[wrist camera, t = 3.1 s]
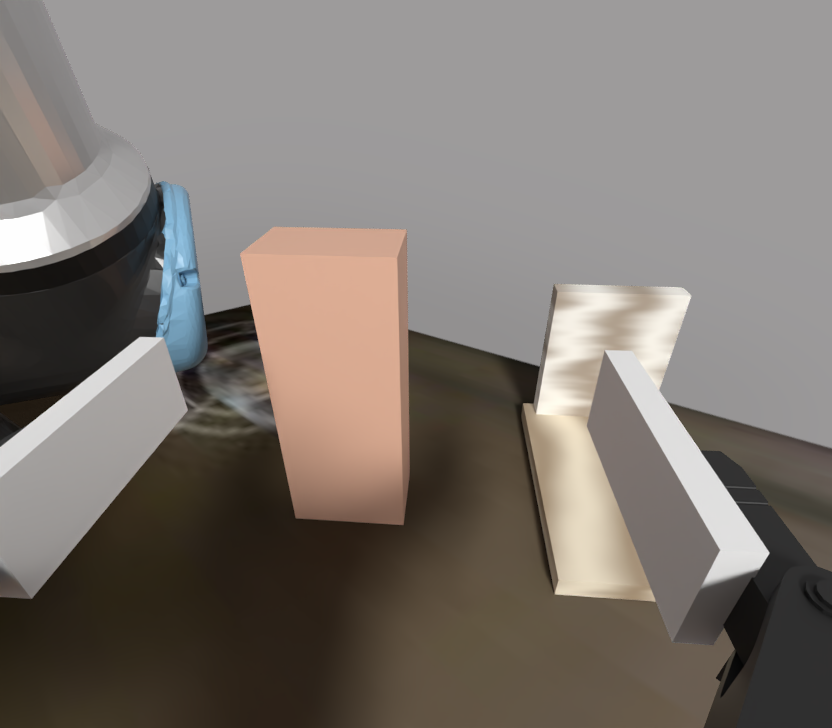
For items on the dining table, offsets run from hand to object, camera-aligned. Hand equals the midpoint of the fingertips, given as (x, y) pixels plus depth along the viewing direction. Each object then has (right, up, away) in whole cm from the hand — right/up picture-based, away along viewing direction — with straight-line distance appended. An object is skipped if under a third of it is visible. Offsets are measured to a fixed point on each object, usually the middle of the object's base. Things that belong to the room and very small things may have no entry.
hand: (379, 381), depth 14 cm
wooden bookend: (+16, -9, +22) cm, 29 cm away
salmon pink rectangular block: (-4, -10, +22) cm, 24 cm away
